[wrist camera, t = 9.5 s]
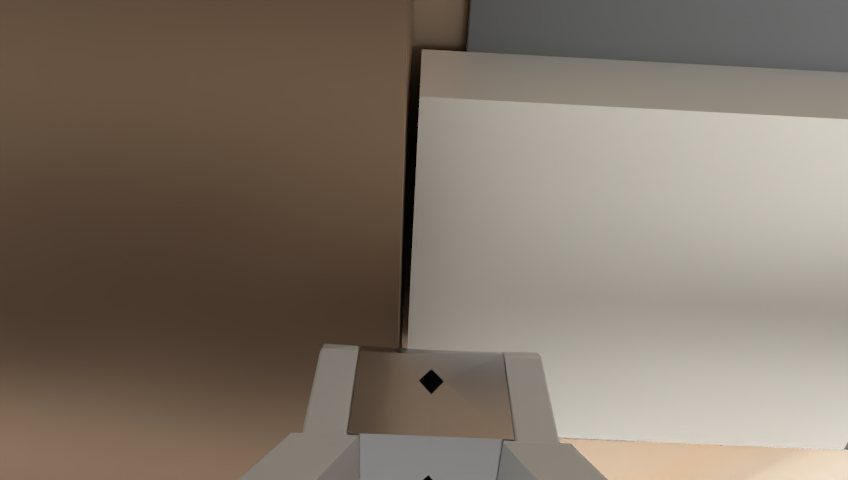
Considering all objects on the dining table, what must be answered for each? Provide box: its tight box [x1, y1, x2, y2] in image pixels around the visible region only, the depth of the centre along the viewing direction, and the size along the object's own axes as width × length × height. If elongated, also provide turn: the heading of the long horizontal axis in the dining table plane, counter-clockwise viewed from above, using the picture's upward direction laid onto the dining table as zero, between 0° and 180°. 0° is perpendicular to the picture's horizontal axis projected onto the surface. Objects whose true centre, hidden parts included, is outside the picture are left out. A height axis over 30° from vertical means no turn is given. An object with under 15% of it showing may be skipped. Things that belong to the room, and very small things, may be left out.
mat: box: [466, 0, 848, 450], centre depth 14 cm, size 13×16×1 cm
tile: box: [407, 49, 848, 450], centre depth 13 cm, size 7×9×2 cm
